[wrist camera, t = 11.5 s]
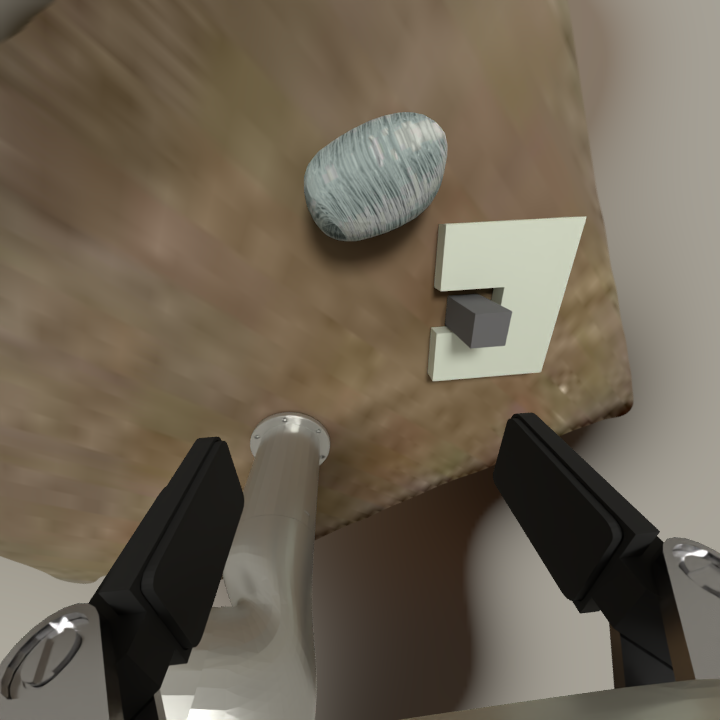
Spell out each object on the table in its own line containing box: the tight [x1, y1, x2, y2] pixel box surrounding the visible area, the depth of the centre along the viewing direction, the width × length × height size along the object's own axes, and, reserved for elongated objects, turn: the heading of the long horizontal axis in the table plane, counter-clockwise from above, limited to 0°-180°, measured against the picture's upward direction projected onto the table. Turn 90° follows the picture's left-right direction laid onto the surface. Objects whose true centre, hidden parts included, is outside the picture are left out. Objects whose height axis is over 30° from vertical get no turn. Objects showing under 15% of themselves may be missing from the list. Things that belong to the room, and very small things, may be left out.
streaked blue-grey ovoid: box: [304, 112, 447, 241], centre depth 26 cm, size 14×10×10 cm
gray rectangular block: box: [445, 294, 512, 349], centre depth 33 cm, size 4×4×8 cm
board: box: [428, 217, 586, 381], centre depth 36 cm, size 20×16×2 cm
